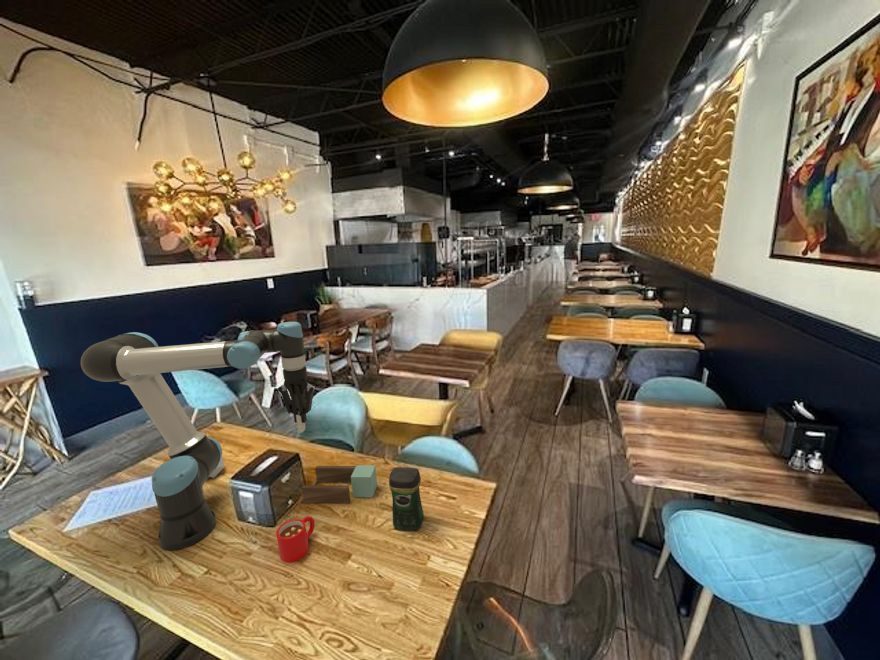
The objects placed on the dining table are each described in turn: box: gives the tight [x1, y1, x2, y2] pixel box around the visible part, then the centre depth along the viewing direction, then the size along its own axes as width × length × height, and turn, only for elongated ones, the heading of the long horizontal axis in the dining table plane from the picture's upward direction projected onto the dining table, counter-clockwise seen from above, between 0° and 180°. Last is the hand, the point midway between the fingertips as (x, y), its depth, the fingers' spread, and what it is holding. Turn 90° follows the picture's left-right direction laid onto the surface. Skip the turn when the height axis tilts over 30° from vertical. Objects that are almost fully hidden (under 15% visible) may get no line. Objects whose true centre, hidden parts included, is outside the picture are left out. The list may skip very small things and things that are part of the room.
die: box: [209, 456, 226, 479], centre depth 147 cm, size 8×9×10 cm
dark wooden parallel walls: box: [300, 465, 356, 505], centre depth 133 cm, size 13×17×6 cm
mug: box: [275, 515, 315, 564], centre depth 109 cm, size 8×12×8 cm, turn 154°
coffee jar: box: [388, 466, 425, 531], centre depth 115 cm, size 10×8×19 cm
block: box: [350, 464, 378, 498], centre depth 132 cm, size 7×7×8 cm
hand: (301, 430), depth 131 cm, fingers closed
